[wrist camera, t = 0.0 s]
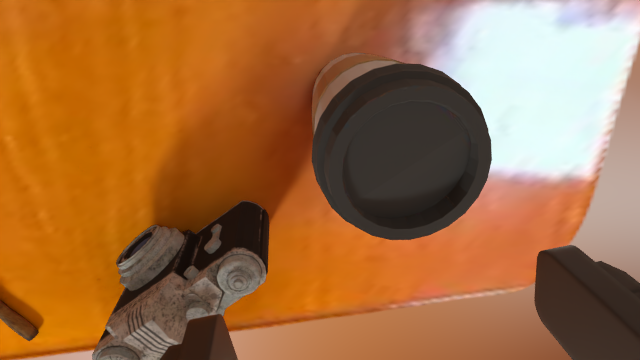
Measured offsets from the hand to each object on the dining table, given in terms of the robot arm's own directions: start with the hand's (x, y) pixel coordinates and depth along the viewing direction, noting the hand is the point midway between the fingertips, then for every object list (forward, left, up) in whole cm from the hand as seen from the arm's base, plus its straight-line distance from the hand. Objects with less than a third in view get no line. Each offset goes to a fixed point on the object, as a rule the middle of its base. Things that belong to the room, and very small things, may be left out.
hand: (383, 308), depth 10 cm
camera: (+10, -13, -23) cm, 29 cm away
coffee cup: (0, +3, -23) cm, 24 cm away
